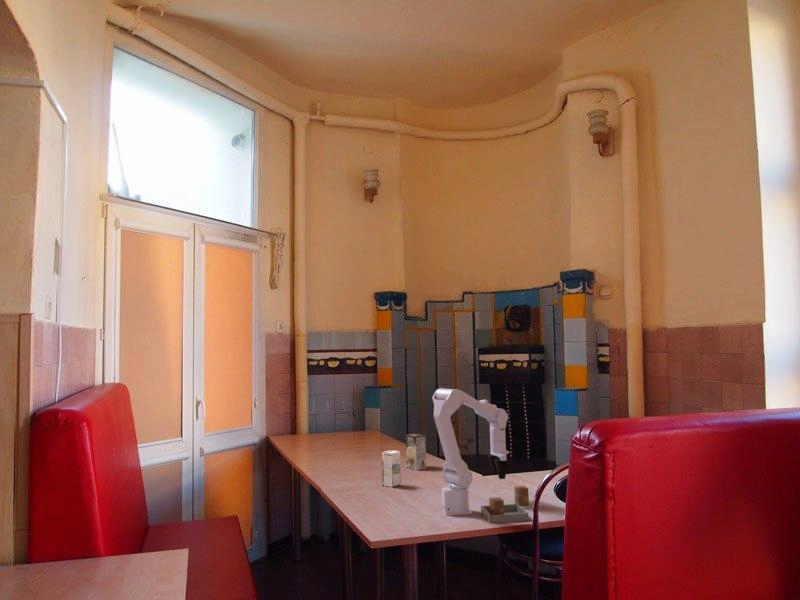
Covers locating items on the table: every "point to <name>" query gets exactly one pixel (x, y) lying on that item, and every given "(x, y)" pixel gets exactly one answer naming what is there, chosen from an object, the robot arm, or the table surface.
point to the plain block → (496, 506)
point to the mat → (523, 506)
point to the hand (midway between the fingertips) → (499, 476)
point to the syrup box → (391, 468)
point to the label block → (521, 495)
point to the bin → (506, 514)
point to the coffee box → (415, 451)
